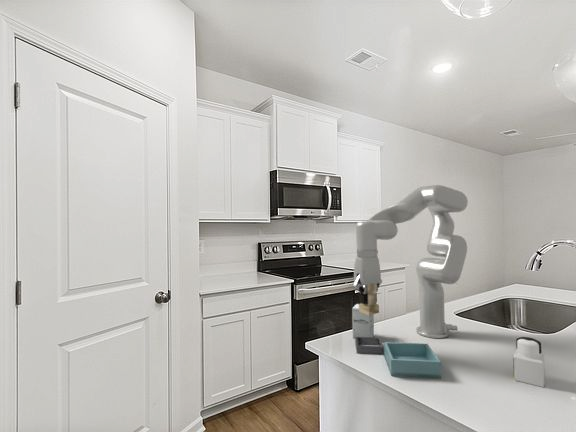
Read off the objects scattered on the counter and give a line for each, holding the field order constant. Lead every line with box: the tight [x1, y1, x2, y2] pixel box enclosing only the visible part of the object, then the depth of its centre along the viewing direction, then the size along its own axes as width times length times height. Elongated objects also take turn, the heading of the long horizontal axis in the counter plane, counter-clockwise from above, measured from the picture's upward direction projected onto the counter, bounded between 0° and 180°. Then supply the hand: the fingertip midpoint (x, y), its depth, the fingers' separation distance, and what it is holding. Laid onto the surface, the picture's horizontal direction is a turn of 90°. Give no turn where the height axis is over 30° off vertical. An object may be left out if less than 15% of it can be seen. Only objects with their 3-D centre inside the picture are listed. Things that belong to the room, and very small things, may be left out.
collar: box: [354, 336, 384, 355], centre depth 123 cm, size 10×10×2 cm
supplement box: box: [351, 303, 375, 339], centre depth 135 cm, size 7×7×13 cm
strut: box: [358, 282, 380, 315], centre depth 124 cm, size 5×5×12 cm
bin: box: [383, 341, 442, 379], centre depth 108 cm, size 15×15×5 cm
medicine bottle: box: [512, 336, 546, 388], centre depth 98 cm, size 7×7×12 cm
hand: (368, 302), depth 124 cm, fingers closed on strut, 4 cm apart
